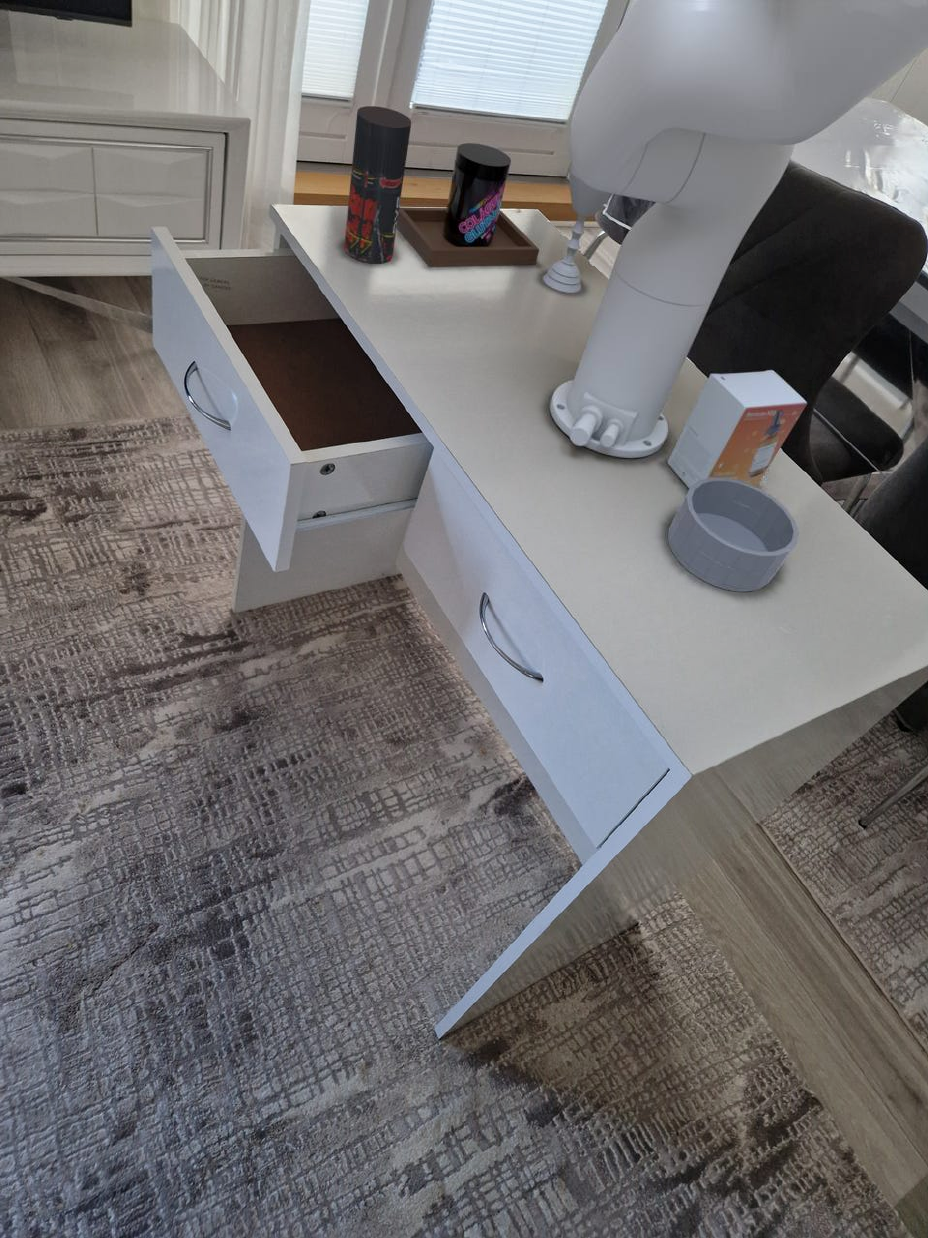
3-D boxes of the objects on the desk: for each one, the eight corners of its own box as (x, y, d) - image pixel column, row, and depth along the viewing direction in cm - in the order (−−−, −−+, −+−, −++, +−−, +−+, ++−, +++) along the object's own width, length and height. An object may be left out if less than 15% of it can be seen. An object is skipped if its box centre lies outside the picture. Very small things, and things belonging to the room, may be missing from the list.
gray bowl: (765, 608, 71) (791, 572, 67) (656, 561, 72) (676, 523, 68) (779, 542, 77) (803, 506, 74) (679, 499, 79) (699, 462, 75)
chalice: (529, 283, 103) (571, 128, 90) (541, 263, 108) (583, 113, 95) (584, 302, 103) (634, 149, 90) (593, 281, 107) (642, 132, 94)
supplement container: (443, 246, 103) (459, 159, 96) (439, 223, 108) (454, 138, 100) (494, 255, 105) (514, 170, 97) (488, 232, 109) (507, 149, 102)
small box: (695, 499, 79) (744, 408, 72) (665, 463, 82) (709, 371, 75) (757, 490, 82) (810, 402, 75) (725, 456, 86) (773, 367, 78)
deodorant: (343, 237, 101) (356, 102, 90) (391, 244, 102) (409, 112, 91) (344, 259, 97) (357, 121, 86) (393, 266, 98) (413, 131, 88)
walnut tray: (429, 266, 100) (432, 250, 99) (393, 223, 107) (395, 206, 105) (535, 264, 107) (539, 249, 106) (495, 223, 113) (499, 208, 112)
